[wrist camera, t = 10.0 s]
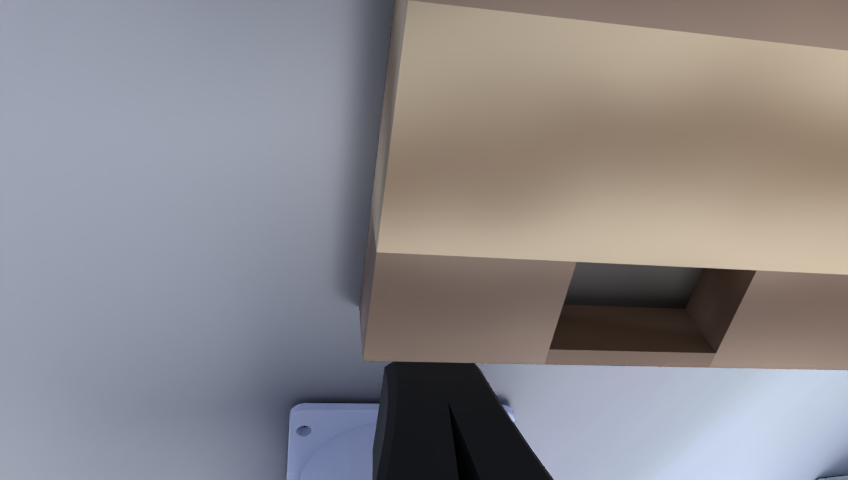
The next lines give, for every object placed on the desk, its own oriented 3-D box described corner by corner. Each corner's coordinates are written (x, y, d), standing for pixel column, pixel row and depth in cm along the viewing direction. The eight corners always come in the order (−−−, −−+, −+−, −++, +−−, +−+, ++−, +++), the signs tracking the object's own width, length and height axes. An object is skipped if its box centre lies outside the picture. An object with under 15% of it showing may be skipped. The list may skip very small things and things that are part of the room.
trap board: (990, 328, 26) (1116, 431, 22) (359, 308, 22) (368, 431, 18) (1289, -66, 19) (1564, -24, 15) (419, -216, 14) (458, -216, 10)
